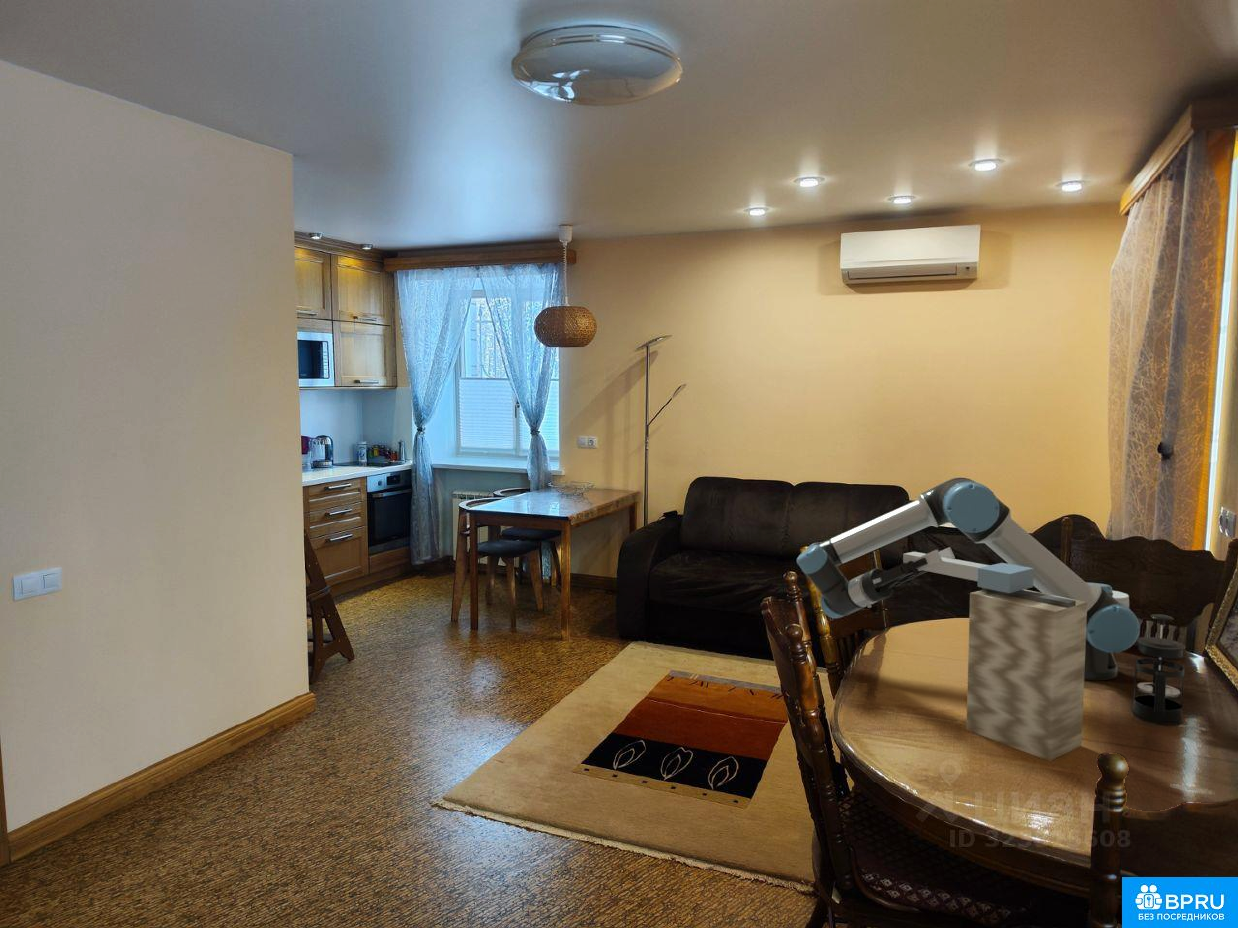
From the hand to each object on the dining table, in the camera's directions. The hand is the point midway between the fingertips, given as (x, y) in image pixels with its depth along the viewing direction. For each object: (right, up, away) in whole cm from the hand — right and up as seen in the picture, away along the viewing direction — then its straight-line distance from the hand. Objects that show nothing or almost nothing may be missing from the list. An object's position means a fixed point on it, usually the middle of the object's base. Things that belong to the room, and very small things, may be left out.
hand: (945, 554), depth 180 cm
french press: (+46, -36, -4) cm, 58 cm away
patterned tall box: (+11, -37, -13) cm, 41 cm away
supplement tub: (+66, -31, +48) cm, 88 cm away
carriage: (+2, -5, -3) cm, 6 cm away
